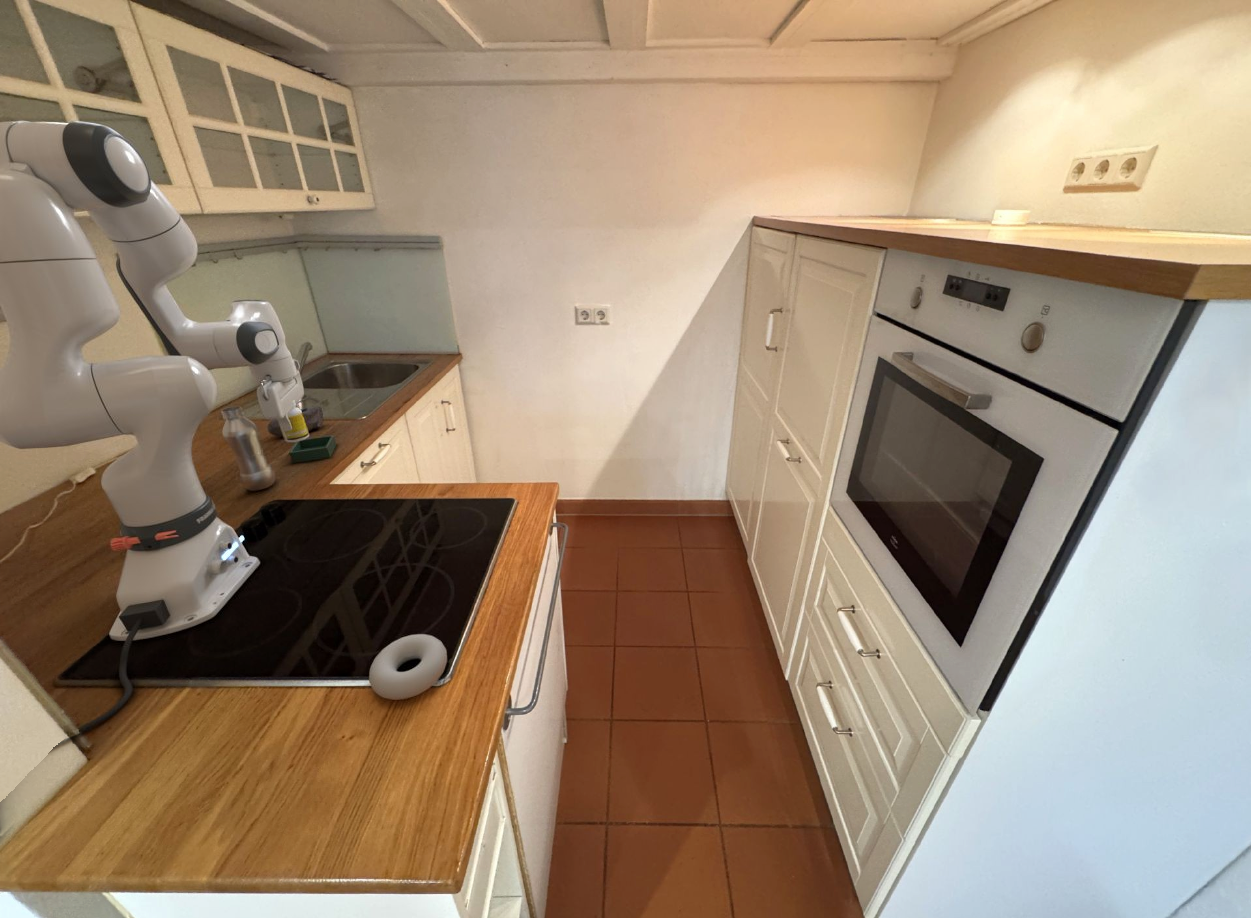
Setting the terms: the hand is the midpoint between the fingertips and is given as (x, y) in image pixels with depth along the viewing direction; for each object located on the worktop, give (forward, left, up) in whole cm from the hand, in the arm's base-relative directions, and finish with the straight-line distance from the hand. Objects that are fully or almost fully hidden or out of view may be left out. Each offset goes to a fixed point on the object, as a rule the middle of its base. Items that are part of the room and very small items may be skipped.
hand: (292, 425), depth 123 cm
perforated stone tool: (+29, +8, -12) cm, 32 cm away
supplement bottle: (0, 0, -4) cm, 4 cm away
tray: (+10, 0, -12) cm, 15 cm away
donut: (-78, -30, -12) cm, 85 cm away
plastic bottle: (-7, +8, -12) cm, 16 cm away
